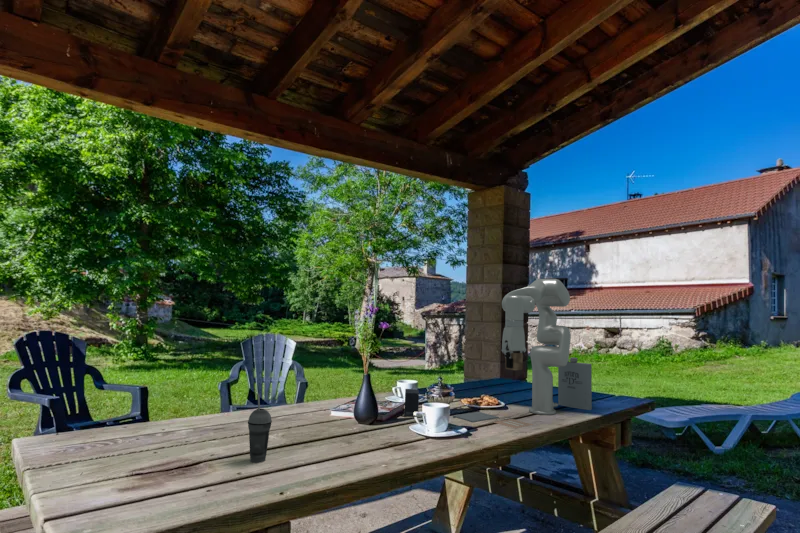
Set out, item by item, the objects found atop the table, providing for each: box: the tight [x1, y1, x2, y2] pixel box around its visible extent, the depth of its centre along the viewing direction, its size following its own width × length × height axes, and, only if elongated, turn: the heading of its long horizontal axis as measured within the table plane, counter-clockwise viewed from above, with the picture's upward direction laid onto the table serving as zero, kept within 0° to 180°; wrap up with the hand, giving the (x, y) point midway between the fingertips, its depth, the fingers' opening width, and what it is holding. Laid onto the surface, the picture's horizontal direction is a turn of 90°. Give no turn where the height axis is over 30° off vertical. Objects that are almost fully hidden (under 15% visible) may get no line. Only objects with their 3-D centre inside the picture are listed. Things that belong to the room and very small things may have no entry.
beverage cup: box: [247, 393, 273, 464], centre depth 150 cm, size 7×7×20 cm
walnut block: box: [505, 352, 524, 371], centre depth 206 cm, size 5×5×7 cm
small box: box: [403, 388, 420, 417], centre depth 221 cm, size 11×6×10 cm, turn 179°
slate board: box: [452, 411, 500, 423], centre depth 213 cm, size 16×12×2 cm
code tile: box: [493, 418, 534, 429], centre depth 204 cm, size 12×12×1 cm
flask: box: [557, 357, 593, 411], centre depth 249 cm, size 17×5×25 cm, turn 44°
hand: (513, 367), depth 206 cm, fingers closed on walnut block, 5 cm apart
